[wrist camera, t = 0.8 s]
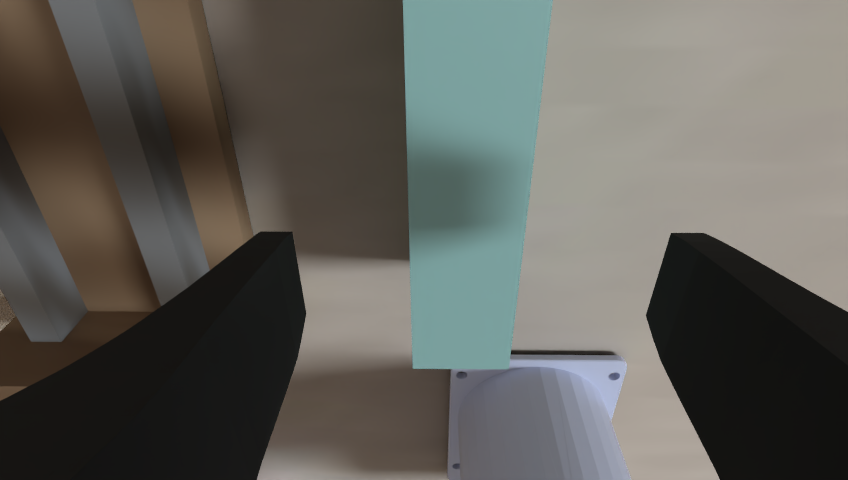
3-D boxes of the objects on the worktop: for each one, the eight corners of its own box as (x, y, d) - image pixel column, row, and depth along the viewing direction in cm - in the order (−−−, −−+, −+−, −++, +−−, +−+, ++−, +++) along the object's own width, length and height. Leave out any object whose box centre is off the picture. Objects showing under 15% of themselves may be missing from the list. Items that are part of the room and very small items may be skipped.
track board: (272, 324, 23) (236, 417, 19) (52, 323, 23) (-33, 415, 19) (144, -256, 13) (-1, -340, 8) (-254, -251, 13) (-593, -331, 8)
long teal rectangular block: (490, 259, 21) (508, 369, 16) (417, 258, 21) (412, 368, 16) (517, -89, 14) (563, -89, 9) (412, -88, 14) (400, -87, 9)
